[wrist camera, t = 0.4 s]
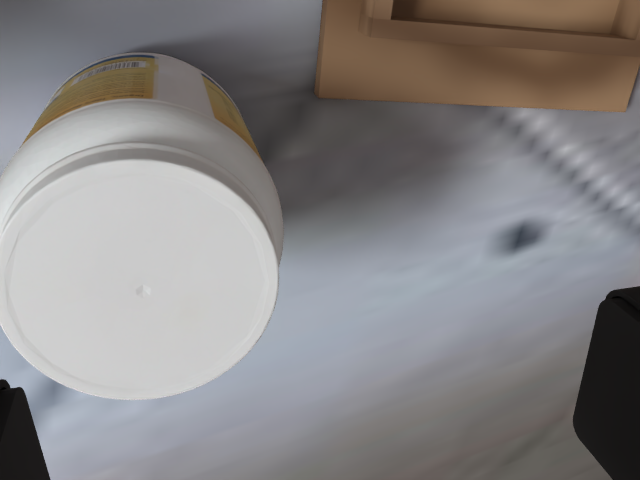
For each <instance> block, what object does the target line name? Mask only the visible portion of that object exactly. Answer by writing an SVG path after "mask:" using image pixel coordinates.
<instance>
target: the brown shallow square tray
mask: <svg viewBox="0 0 640 480" xmlns="http://www.w3.org/2000/svg"><path fill="white" fill-rule="evenodd" d="M639 66H640V0H323V3H322V14H321V25H320V35H319V46H318V57H317V68H316V79H315V90H314V94H315V95H316V96H317V97H318V98H330V99H351V100H373V101H394V102H416V103H437V104H458V105H480V106H501V107H523V108H544V109H566V110H587V111H608V112H625V111H626V108H627V105H628V101H629V98H630V95H631V92H632V89H633V85H634V82H635V79H636V76H637V73H638V69H639Z"/></svg>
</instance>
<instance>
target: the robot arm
mask: <svg viewBox="0 0 640 480" xmlns="http://www.w3.org/2000/svg"><path fill="white" fill-rule="evenodd" d="M573 426H574V429H575V432H576V434H577V436H578V438H579V439H580V441H581V442H582V443H583V444H584V445H585V447H586V448H587V449H588V450H589V451H590V453H591V454H592V455H593V456H594V457H595V459H596V460H597V461H598V462H599V463H600V465H601V466H602V467H603V468H604V469H605V471H606V472H607V473H608V474H609V475H610V477H611V478H612V479H613V480H640V286H638V287H631V288H625V289H618V290H613V291H611V292H610V293H609V294H608V295H607V296H606V299H605V300H604V301H602V302H601V303H600V305H599V308H598V312H597V316H596V320H595V325H594V329H593V333H592V338H591V342H590V346H589V351H588V355H587V359H586V364H585V368H584V372H583V377H582V381H581V385H580V389H579V394H578V398H577V402H576V407H575V411H574V415H573ZM0 480H50V477H49V473H48V470H47V467H46V463H45V460H44V456H43V453H42V450H41V446H40V443H39V439H38V436H37V432H36V429H35V426H34V422H33V419H32V415H31V412H30V409H29V405H28V402H27V398H26V395H25V392H24V390H23V389H22V388H21V387H17V388H10V385H9V384H8V382H7V381H6V380H4V379H1V380H0Z"/></svg>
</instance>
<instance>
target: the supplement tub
mask: <svg viewBox="0 0 640 480" xmlns="http://www.w3.org/2000/svg"><path fill="white" fill-rule="evenodd" d="M283 239H284V227H283V217H282V209H281V204H280V200H279V196H278V193H277V190H276V187H275V185H274V182H273V180H272V178H271V176H270V174H269V172H268V170H267V168H266V167H265V165H264V163H263V161H262V159H261V157H260V155H259V153H258V150H257V148H256V146H255V144H254V142H253V140H252V138H251V136H250V133H249V131H248V129H247V127H246V125H245V122H244V120H243V118H242V115H241V113H240V111H239V110H238V108H237V106H236V105H235V103H234V102H233V100H232V99H231V97H230V96H229V95H228V94H227V93H226V91H225V90H224V89H223V88H222V87H221V86H220V85H219V84H218V83H217V82H216V81H214V80H213V79H212V78H211V77H210V76H208V75H207V74H206V73H204V72H203V71H201V70H199V69H198V68H196V67H194V66H192V65H190V64H188V63H186V62H184V61H181V60H179V59H176V58H173V57H170V56H167V55H162V54H157V53H124V54H118V55H113V56H109V57H105V58H102V59H100V60H97V61H94V62H92V63H90V64H88V65H86V66H85V67H83V68H81V69H80V70H78V71H76V72H75V73H74V74H73V75H71V76H70V77H69V78H68V79H67V80H65V81H64V82H63V83H62V84H61V85H60V86H59V88H58V89H57V90H56V91H55V93H54V94H53V95H52V97H51V98H50V100H49V101H48V103H47V105H46V107H45V109H44V111H43V113H42V114H41V116H40V117H39V119H38V120H37V122H36V123H35V125H34V127H33V128H32V130H31V131H30V133H29V134H28V136H27V138H26V139H25V141H24V142H23V144H22V145H21V147H20V148H19V150H18V151H17V152H16V153H15V155H14V156H13V157H12V159H11V160H10V162H9V163H8V165H7V167H6V168H5V170H4V172H3V174H2V176H1V178H0V325H1V327H2V329H3V331H4V332H5V334H6V335H7V337H8V339H9V340H10V342H11V343H12V345H13V346H14V347H15V348H16V349H17V351H18V352H19V353H20V354H21V355H22V356H23V357H24V358H25V359H26V360H27V361H28V362H29V363H30V364H31V365H33V366H34V367H35V368H37V369H38V370H39V371H41V372H42V373H43V374H45V375H46V376H48V377H50V378H51V379H53V380H55V381H56V382H58V383H60V384H63V385H65V386H67V387H69V388H72V389H75V390H77V391H80V392H83V393H86V394H90V395H93V396H98V397H103V398H111V399H119V400H144V399H156V398H162V397H168V396H172V395H176V394H180V393H183V392H186V391H189V390H192V389H195V388H197V387H199V386H202V385H204V384H206V383H208V382H210V381H212V380H213V379H215V378H217V377H219V376H220V375H222V374H223V373H225V372H226V371H228V370H229V369H231V368H232V367H233V366H234V365H236V364H237V363H238V362H239V361H240V360H241V359H242V358H244V357H245V356H246V355H247V353H248V352H249V351H250V350H251V349H252V348H253V347H254V345H255V344H256V343H257V341H258V340H259V339H260V337H261V335H262V334H263V332H264V331H265V329H266V327H267V325H268V323H269V321H270V318H271V316H272V313H273V311H274V308H275V305H276V300H277V295H278V287H279V264H280V260H281V256H282V249H283Z"/></svg>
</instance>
